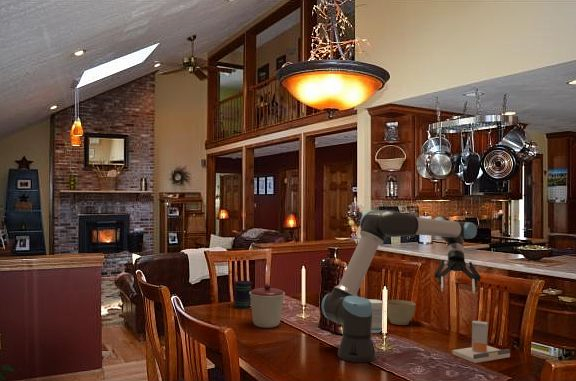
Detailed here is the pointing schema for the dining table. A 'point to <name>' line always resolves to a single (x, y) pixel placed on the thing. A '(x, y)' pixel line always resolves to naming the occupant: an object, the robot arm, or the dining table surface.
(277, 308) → the canister
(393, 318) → the planter bowl
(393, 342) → the dining table surface
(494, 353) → the flat cream box
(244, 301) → the storage jar
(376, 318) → the supplement tub
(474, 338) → the skincare box
